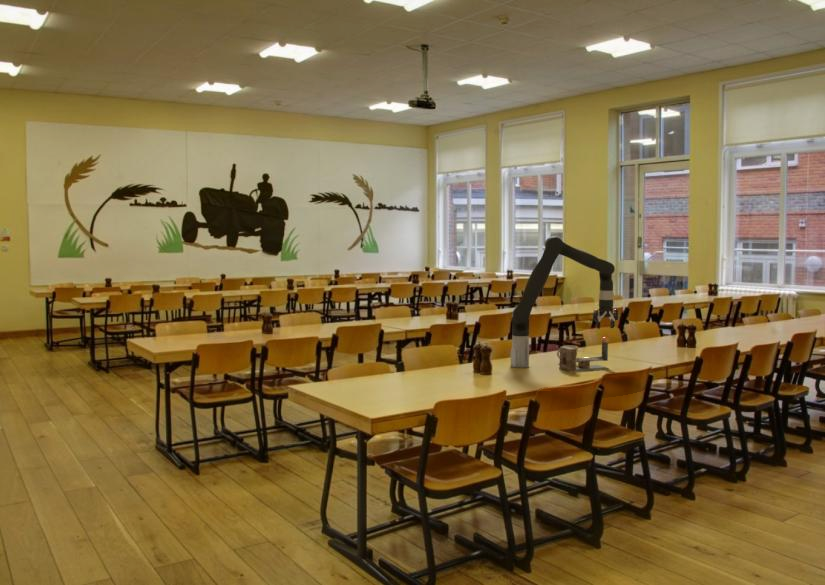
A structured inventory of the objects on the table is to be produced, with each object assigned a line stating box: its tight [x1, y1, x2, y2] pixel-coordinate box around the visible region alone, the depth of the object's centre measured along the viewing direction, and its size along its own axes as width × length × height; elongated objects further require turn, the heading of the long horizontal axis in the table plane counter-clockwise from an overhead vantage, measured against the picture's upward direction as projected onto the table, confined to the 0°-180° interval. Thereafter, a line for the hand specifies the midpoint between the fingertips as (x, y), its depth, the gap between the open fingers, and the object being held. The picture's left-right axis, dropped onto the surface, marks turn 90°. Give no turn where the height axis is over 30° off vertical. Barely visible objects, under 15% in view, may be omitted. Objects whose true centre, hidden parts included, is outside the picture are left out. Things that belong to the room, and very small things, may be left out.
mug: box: [556, 344, 579, 360], centre depth 408 cm, size 8×13×10 cm, turn 53°
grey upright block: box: [559, 345, 577, 373], centre depth 388 cm, size 4×10×12 cm, turn 19°
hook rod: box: [576, 336, 610, 363], centre depth 392 cm, size 21×4×13 cm, turn 109°
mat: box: [558, 364, 610, 373], centre depth 391 cm, size 24×11×1 cm, turn 109°
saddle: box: [577, 360, 591, 369], centre depth 391 cm, size 4×5×5 cm
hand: (605, 328), depth 394 cm, fingers open, 8 cm apart
